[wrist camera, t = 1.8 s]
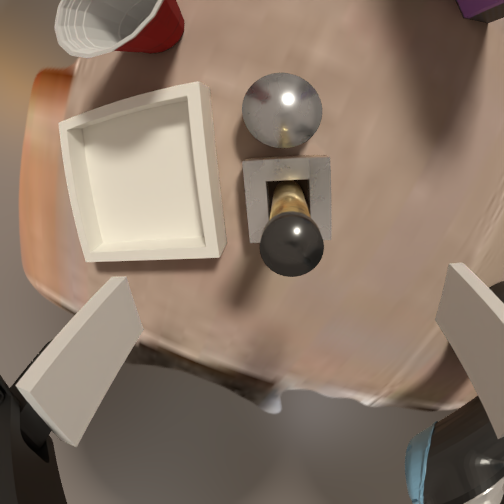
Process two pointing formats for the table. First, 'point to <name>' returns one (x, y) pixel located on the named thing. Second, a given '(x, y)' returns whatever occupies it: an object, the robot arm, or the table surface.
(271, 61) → the table surface
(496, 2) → the cereal box
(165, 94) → the tray
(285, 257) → the lock pin
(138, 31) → the plastic cup
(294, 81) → the bracket
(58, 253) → the table surface
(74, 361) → the robot arm
